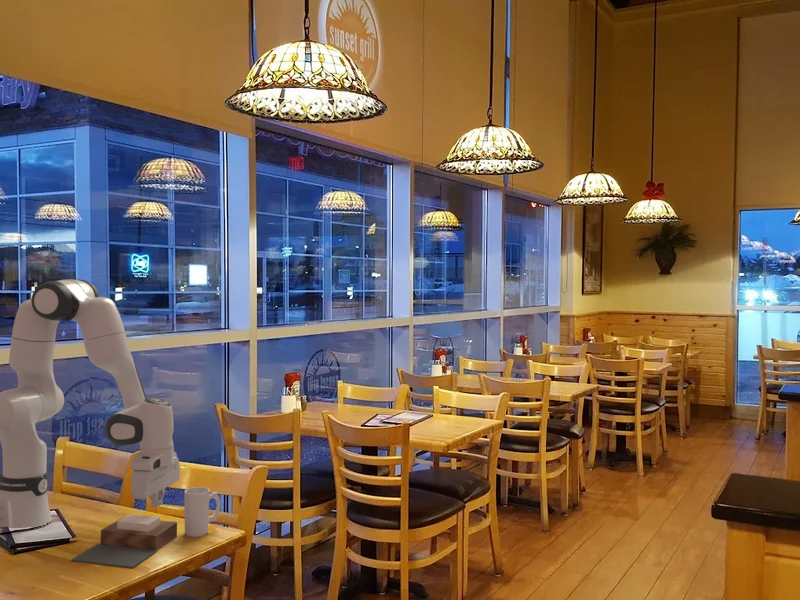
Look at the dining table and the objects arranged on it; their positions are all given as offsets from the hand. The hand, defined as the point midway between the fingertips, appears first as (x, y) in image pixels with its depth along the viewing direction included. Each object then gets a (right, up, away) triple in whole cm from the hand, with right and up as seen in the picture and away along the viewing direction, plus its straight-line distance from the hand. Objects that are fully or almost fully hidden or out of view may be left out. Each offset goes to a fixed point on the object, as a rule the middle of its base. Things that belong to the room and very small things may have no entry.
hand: (157, 505), depth 206 cm
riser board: (-2, -7, -7) cm, 11 cm away
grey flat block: (-2, -3, -8) cm, 9 cm away
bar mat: (-5, -8, -19) cm, 21 cm away
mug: (+13, -8, 0) cm, 15 cm away
